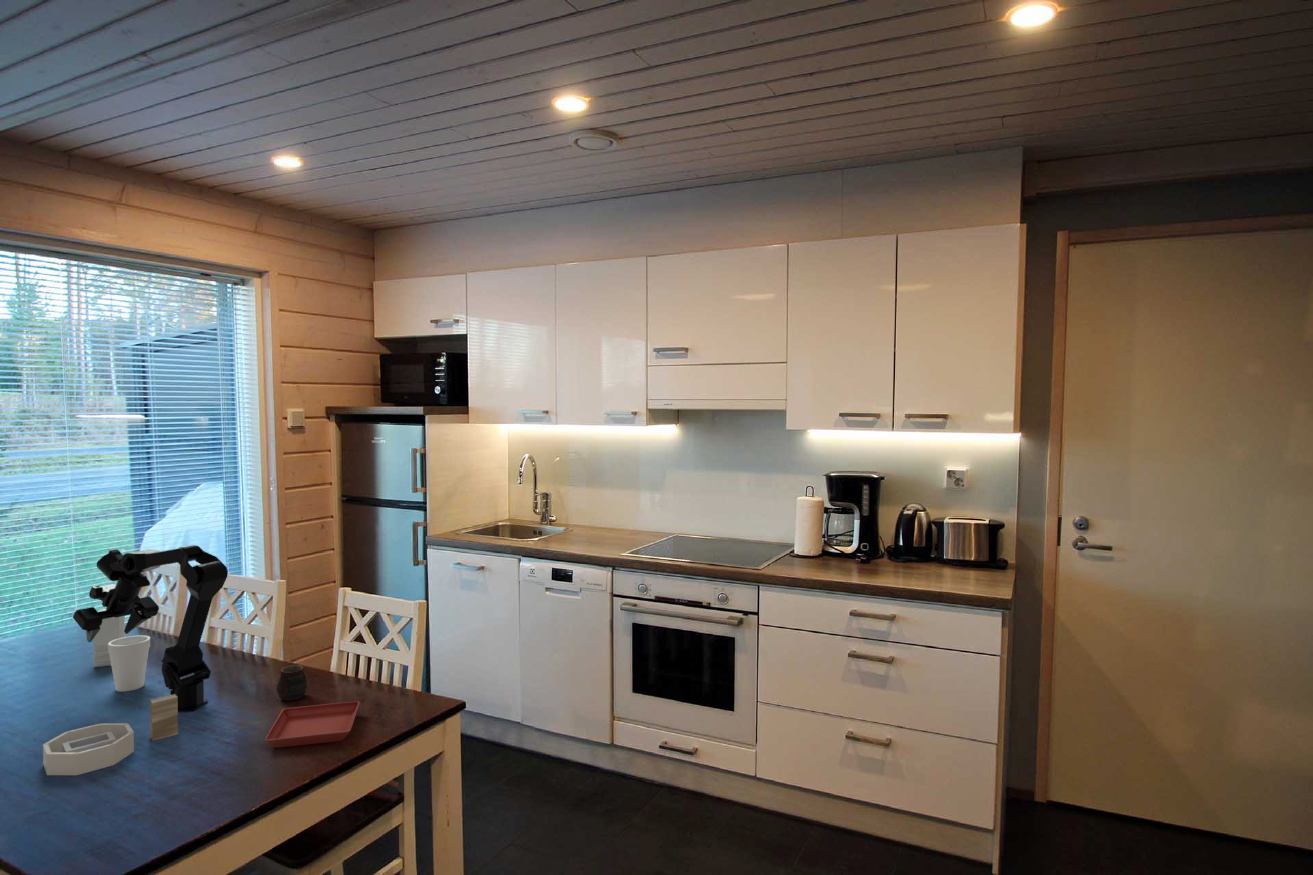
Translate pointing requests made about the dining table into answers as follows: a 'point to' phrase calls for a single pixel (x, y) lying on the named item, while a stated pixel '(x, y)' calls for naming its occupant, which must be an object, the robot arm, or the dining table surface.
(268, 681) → the dining table surface
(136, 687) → the foam cup
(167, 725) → the wood grain block
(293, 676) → the mate gourd
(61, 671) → the dining table surface
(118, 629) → the skincare box
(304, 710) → the plant saucer
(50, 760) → the octagonal boat dish
